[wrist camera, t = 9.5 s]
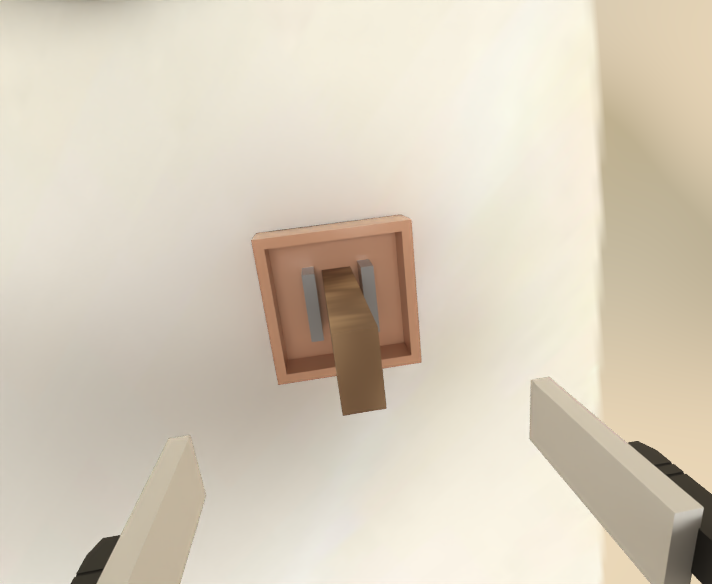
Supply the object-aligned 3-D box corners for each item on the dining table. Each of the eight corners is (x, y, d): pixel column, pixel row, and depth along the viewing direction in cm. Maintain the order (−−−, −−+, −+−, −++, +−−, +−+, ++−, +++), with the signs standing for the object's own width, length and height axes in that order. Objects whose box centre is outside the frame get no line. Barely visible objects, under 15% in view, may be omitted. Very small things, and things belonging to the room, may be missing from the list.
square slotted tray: (280, 365, 37) (278, 384, 34) (256, 233, 34) (251, 240, 30) (411, 345, 38) (421, 362, 35) (401, 214, 35) (411, 219, 31)
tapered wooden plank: (328, 323, 36) (342, 415, 22) (321, 270, 34) (331, 334, 21) (356, 319, 36) (386, 408, 23) (349, 266, 35) (377, 327, 21)
